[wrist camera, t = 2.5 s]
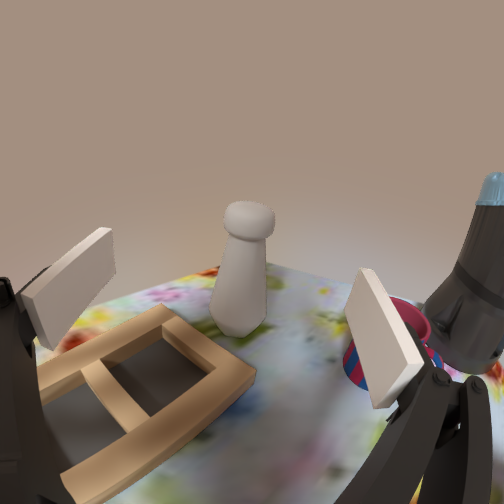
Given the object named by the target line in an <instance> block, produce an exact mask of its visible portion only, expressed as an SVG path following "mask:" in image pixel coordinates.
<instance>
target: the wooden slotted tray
mask: <svg viewBox="0 0 504 504" xmlns="http://www.w3.org/2000/svg"><path fill="white" fill-rule="evenodd" d="M256 371H257V370H256V369H254V368H252V367H251V366H249V365H248V364H246V363H245V362H243V361H242V360H240V359H238V358H237V357H235V356H234V355H232V354H231V353H229V352H228V351H226V350H225V349H223V348H222V347H221V346H219V345H218V344H216V343H215V342H213V341H212V340H210V339H209V338H208V337H206V336H205V335H203V334H202V333H201V332H199V331H198V330H196V329H195V328H194V327H192V326H191V325H190V324H188V323H187V322H185V321H184V320H183V319H181V318H180V317H179V316H177V315H176V314H175V313H174V312H172V311H171V310H170V309H168V308H167V307H166V306H164V305H163V304H162V303H161V304H159V305H157V306H155V307H153V308H151V309H149V310H147V311H145V312H143V313H141V314H139V315H138V316H136V317H134V318H132V319H130V320H128V321H126V322H124V323H122V324H120V325H118V326H116V327H114V328H112V329H110V330H108V331H106V332H104V333H102V334H100V335H99V336H97V337H95V338H93V339H91V340H89V341H87V342H85V343H83V344H81V345H79V346H77V347H75V348H73V349H71V350H69V351H67V352H65V353H63V354H61V355H59V356H57V357H55V358H53V359H52V360H50V361H48V362H46V363H44V364H42V365H40V366H38V367H37V376H38V384H39V391H40V398H41V404H42V409H43V415H44V420H45V424H46V429H47V433H48V437H49V441H50V445H51V448H52V452H53V455H54V458H55V462H56V465H57V468H58V471H59V474H60V477H61V479H62V482H63V484H64V486H65V488H66V489H67V491H68V492H69V493H70V494H71V496H72V497H73V499H74V500H75V502H76V504H103V503H104V502H106V501H108V500H109V499H111V498H112V497H114V496H116V495H117V494H119V493H120V492H122V491H123V490H125V489H126V488H128V487H129V486H131V485H132V484H134V483H135V482H137V481H138V480H140V479H141V478H142V477H144V476H145V475H147V474H148V473H149V472H151V471H152V470H154V469H155V468H156V467H158V466H159V465H160V464H162V463H163V462H164V461H166V460H167V459H168V458H169V457H171V456H172V455H173V454H175V453H176V452H177V451H178V450H180V449H181V448H182V447H183V446H185V445H186V444H187V443H188V442H190V441H191V440H192V439H193V438H194V437H196V436H197V435H198V434H199V433H200V432H201V431H203V430H204V429H205V428H206V427H207V426H208V425H210V424H211V423H212V422H213V421H214V420H215V419H216V418H218V417H219V416H220V415H221V414H222V413H223V412H224V411H225V410H226V409H227V408H229V407H230V406H231V405H232V404H233V403H234V402H235V401H236V400H237V399H238V398H239V397H240V396H241V395H242V394H243V393H245V392H246V391H247V390H248V389H249V388H250V387H251V386H252V385H253V384H254V380H255V375H256Z"/></svg>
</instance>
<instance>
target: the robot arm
mask: <svg viewBox="0 0 504 504" xmlns="http://www.w3.org/2000/svg"><path fill="white" fill-rule="evenodd" d="M475 205H476V209H475V212H474V216H473V219H472V222H471V225H470V228H469V231H468V234H467V236H466V239H465V242H464V244H463V247H462V249H461V252H460V254H459V257H458V260H457V262H456V264H455V267H454V269H453V271H452V273H451V274H450V275H449V277H448V278H447V279H446V280H445V281H444V282H443V283H442V284H441V285H440V287H438V289H437V290H436V291H435V292H434V293H433V294H432V295H431V296H430V297H429V298H428V299H427V301H426V302H425V304H424V306H423V308H422V310H421V312H422V313H423V314H424V315H425V317H426V318H427V319H428V321H429V323H430V327H431V334H430V336H429V338H428V340H427V342H426V343H427V345H428V346H429V347H430V348H431V349H433V350H434V351H436V352H437V353H438V354H439V355H440V356H441V357H442V359H443V361H444V362H446V363H447V364H448V365H450V366H452V367H453V368H455V369H457V370H459V371H462V372H464V373H468V374H474V375H479V374H484V373H486V372H488V371H490V370H491V369H492V367H493V366H494V365H495V363H496V362H497V361H498V359H499V358H500V356H501V354H502V352H503V349H504V173H501V172H492V173H490V174H489V175H487V176H486V178H485V180H484V182H483V185H482V189H481V192H480V195H479V198H478V200H477V201H476V204H475ZM115 274H116V269H115V259H114V249H113V236H112V229H110V228H103V227H100V228H99V229H97V230H96V231H95V232H93V233H92V234H91V235H90V236H88V237H87V238H86V239H84V240H83V241H82V242H80V243H79V244H78V245H76V246H75V247H74V248H72V249H71V250H70V251H69V252H67V253H66V254H65V255H64V256H63V257H61V258H60V259H59V260H58V261H57V262H55V263H54V264H53V265H51V266H49V267H47V268H45V269H43V270H42V271H41V272H40V273H39V274H38V275H37V276H35V277H34V278H33V279H32V281H29V282H28V283H27V284H26V285H25V286H24V287H23V288H22V289H21V290H20V291H19V292H17V293H16V294H15V295H14V292H13V289H12V286H11V283H10V280H9V279H8V278H6V277H0V504H76V502H75V500H74V499H73V497H72V496H71V494H70V493H69V492H68V491H67V489H66V488H65V486H64V484H63V482H62V479H61V477H60V474H59V471H58V468H57V465H56V462H55V458H54V455H53V452H52V448H51V445H50V441H49V437H48V433H47V429H46V424H45V420H44V415H43V409H42V404H41V398H40V391H39V384H38V376H37V366H36V353H35V345H34V342H33V339H34V338H35V337H36V336H37V338H38V340H39V342H40V344H41V346H43V347H45V348H47V349H49V350H52V351H54V349H55V348H56V346H57V345H58V344H59V342H60V341H61V340H62V338H63V337H64V336H65V334H66V333H67V332H68V330H69V329H70V328H71V327H72V325H73V324H74V323H75V321H76V320H77V319H78V318H79V316H80V315H81V314H82V313H83V311H84V310H85V309H86V308H87V306H88V305H89V304H90V303H91V301H92V300H93V299H94V298H95V297H96V296H97V294H98V293H99V292H100V291H101V290H102V288H103V287H104V286H105V285H106V284H107V283H108V282H109V280H110V279H111V278H112V277H113V276H114V275H115ZM344 312H345V315H346V318H347V321H348V324H349V327H350V330H351V333H352V336H353V339H354V343H355V346H356V349H357V352H358V355H359V359H360V362H361V365H362V369H363V372H364V376H365V379H366V383H367V386H368V390H369V394H370V397H371V401H372V405H373V409H381V408H389V407H390V406H391V405H392V404H393V403H394V402H395V400H396V399H397V402H398V405H399V407H398V408H397V409H396V410H395V411H394V412H393V413H392V414H391V415H390V417H389V418H388V419H387V420H386V421H387V422H388V421H389V420H390V421H389V423H388V425H387V426H386V428H385V430H384V432H383V433H382V435H381V437H380V438H379V440H378V442H377V443H376V445H375V447H374V448H373V450H372V451H371V453H370V455H369V456H368V458H367V459H366V461H365V462H364V464H363V465H362V467H361V468H360V470H359V471H358V472H357V474H356V475H355V477H354V478H353V479H352V481H351V482H350V483H349V485H348V486H347V487H346V489H345V490H344V491H343V492H342V494H341V495H340V496H339V498H338V499H337V500H336V501H335V502H334V504H409V503H410V501H411V499H412V497H413V495H414V493H415V491H416V489H417V487H418V485H419V483H420V481H421V479H422V477H423V480H422V485H421V489H420V493H419V497H418V501H417V504H489V500H490V492H491V481H492V425H491V413H490V403H489V396H488V389H487V386H486V384H485V383H484V381H483V380H482V379H481V378H479V377H477V376H474V375H471V376H469V377H468V378H467V379H466V381H465V382H464V383H459V382H455V381H452V378H451V376H450V375H449V374H448V373H447V372H446V371H445V370H444V369H442V368H439V367H434V365H433V363H432V361H431V359H430V357H429V355H428V353H427V351H426V349H425V347H424V345H422V344H423V343H422V342H421V340H420V339H419V336H418V334H417V332H416V331H415V329H414V328H413V327H412V326H411V325H410V324H409V323H408V322H403V321H402V319H401V317H400V315H399V313H398V312H397V310H396V308H395V306H394V305H393V303H392V301H391V299H390V298H389V296H388V294H387V293H386V291H385V289H384V288H383V286H382V284H381V282H380V281H379V279H378V278H377V276H376V274H375V273H374V271H373V270H372V269H366V268H360V269H359V271H358V274H357V277H356V279H355V282H354V285H353V288H352V290H351V293H350V295H349V298H348V301H347V303H346V306H345V308H344ZM459 423H460V428H459V429H458V424H459ZM423 474H424V476H423Z"/></svg>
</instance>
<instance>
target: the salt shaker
mask: <svg viewBox="0 0 504 504" xmlns="http://www.w3.org/2000/svg"><path fill="white" fill-rule="evenodd" d="M274 226H275V214H274V212H273V211H272V209H271V208H270V207H268V206H266V205H264V204H261V203H258V202H253V201H238V202H234V203H232V204H230V205H229V206H228V207H227V209H226V212H225V215H224V228H225V229H226V231H227V232H228V233H230V234H229V237H228V241H227V244H226V247H225V251H224V254H223V258H222V261H221V265H220V268H219V272H218V275H217V279H216V283H215V286H214V290H213V293H212V297H211V301H210V304H209V312H210V314H211V316H212V318H213V320H214V322H215V324H216V326H217V327H218V328H219V329H220V330H221V331H222V332H223V334H224V335H225V336H231V337H240V338H244V337H245V336H247V335H248V334H250V333H251V332H252V331H254V330H255V329H256V328H257V327H258V326H259V325H260V323H261V322H262V321H263V320H264V319H265V317H266V314H267V312H266V245H265V238H267V237H269V236H270V235H271V234H272V233H273V231H274Z"/></svg>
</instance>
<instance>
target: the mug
mask: <svg viewBox="0 0 504 504" xmlns="http://www.w3.org/2000/svg"><path fill="white" fill-rule="evenodd" d="M389 298H390V299H391V301H392V303H393V305H394V306H395V308H396V310H397V312H398V313H399V315H400V317H401V319H402V321H403V322H408V323H409V324H410V325H411V326H412V327H413V328H414V329H415V331H416V332H417V334H418V336H419V339H420V340H421V342H422V343H423V344H422V345H424V347H425V349H426V351H427V353H428V355H429V357H430V358H431V359H432V360H433V361H434V362H435V364H436V367H439V368H442V369H444V362H443V359H442V357H441V356H440V355H439V354H438V353H437V352H436V351H434V350H433V349H431V348H429V347H426V346H425V344H426V342H427V340H428V338H429V336H430V334H431V327H430V323H429V321H428V319H427V318H426V317H425V315H424V314H423V313H422V312H421V311H420V310H419V309H417V308H416V307H415V306H413V305H411V304H410V303H408V302H406V301H404V300H401V299H398V298H394V297H389ZM343 366H344V369H345V372H346V374H347V376H348V377H349V378H350V380H351V381H352V382H354V383H355V384H356V385H357V386H359V387H361V388H362V389H365V390H367V391H369V390H368V386H367V383H366V379H365V376H364V372H363V369H362V365H361V362H360V359H359V355H358V352H357V349H356V346H355V343H354V339H352V341H351V343H350V345H349V347H348V349H347V351H346V353H345V355H344V358H343Z"/></svg>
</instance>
